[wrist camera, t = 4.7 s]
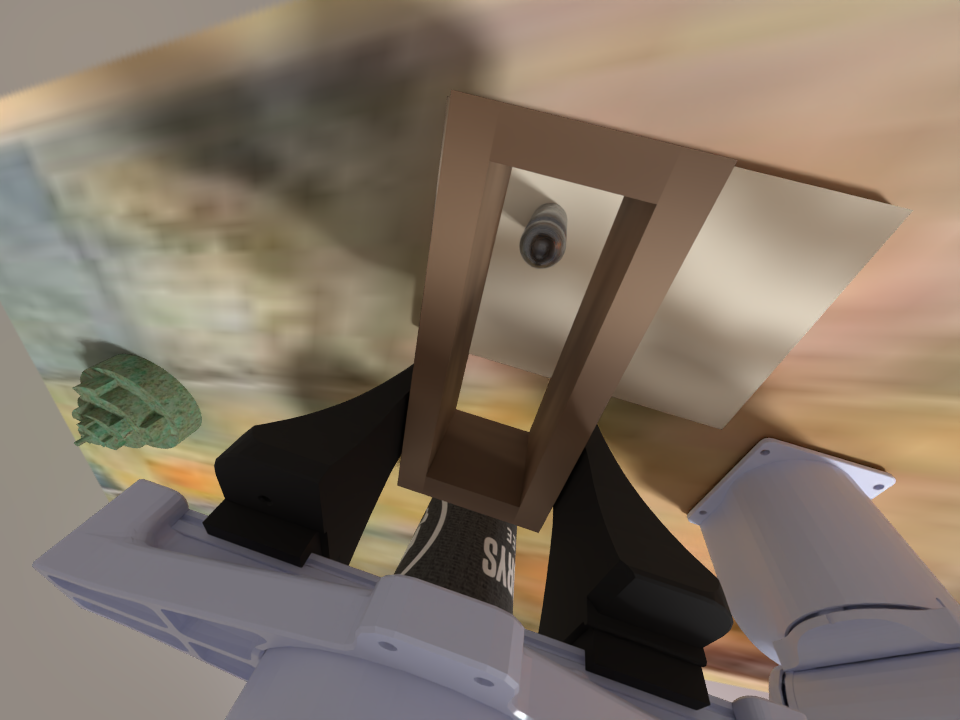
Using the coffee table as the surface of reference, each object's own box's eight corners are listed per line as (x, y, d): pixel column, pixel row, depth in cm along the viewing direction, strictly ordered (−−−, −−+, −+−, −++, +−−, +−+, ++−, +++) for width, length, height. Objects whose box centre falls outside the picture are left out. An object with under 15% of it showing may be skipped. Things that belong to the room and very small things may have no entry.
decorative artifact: (170, 357, 31) (91, 349, 33) (80, 405, 26) (-10, 391, 28) (219, 436, 37) (147, 425, 39) (153, 491, 31) (73, 474, 33)
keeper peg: (560, 244, 18) (556, 280, 13) (526, 235, 18) (511, 267, 13) (572, 207, 17) (573, 232, 12) (536, 198, 17) (524, 219, 12)
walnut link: (543, 454, 16) (538, 532, 12) (432, 418, 16) (397, 485, 13) (675, 163, 10) (738, 160, 6) (489, 116, 10) (451, 89, 7)
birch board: (716, 419, 22) (721, 429, 21) (424, 331, 23) (418, 338, 23) (894, 206, 15) (913, 210, 14) (454, 98, 16) (447, 96, 15)
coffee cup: (481, 522, 34) (430, 739, 22) (411, 463, 31) (307, 671, 19) (560, 493, 29) (551, 751, 17) (484, 421, 27) (409, 662, 14)
